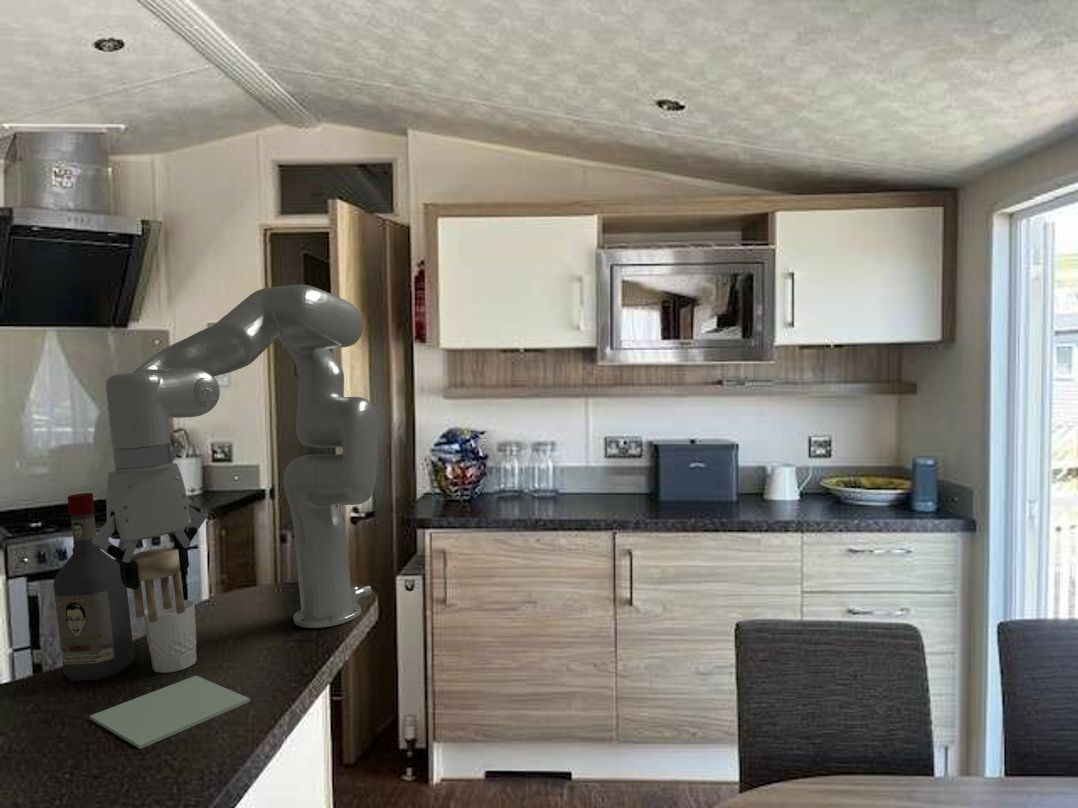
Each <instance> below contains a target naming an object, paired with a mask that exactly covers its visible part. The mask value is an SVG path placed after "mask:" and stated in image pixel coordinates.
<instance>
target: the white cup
mask: <svg viewBox="0 0 1078 808" xmlns="http://www.w3.org/2000/svg"><path fill="white" fill-rule="evenodd" d="M171 604H172V608H170V609H164V607H163V602H160V603H156V611H157V621H156V622H149V618H148V609H147V608H146V609H145V608H144V614H145V616H144V617H143V621H144V628H145V634H146V641H147V644H148V650H149V654H150V658H151V666H152V670H153V671H154V672H155V673H162V674H164V673H165V674H166V673H174V672H179V671H182V670H184V669H187V668H190V667H191V666H192V665H195V664H196V662H197V660H198V659H197V658H198V656H197V626H196V624H197V623H196V609H195V608H196V606H195V604H196V603H195V602H194V600H190V599H184V607H185V612H184V613H181V614H177V611H176V602H175V599H173V600H171Z"/></svg>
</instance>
